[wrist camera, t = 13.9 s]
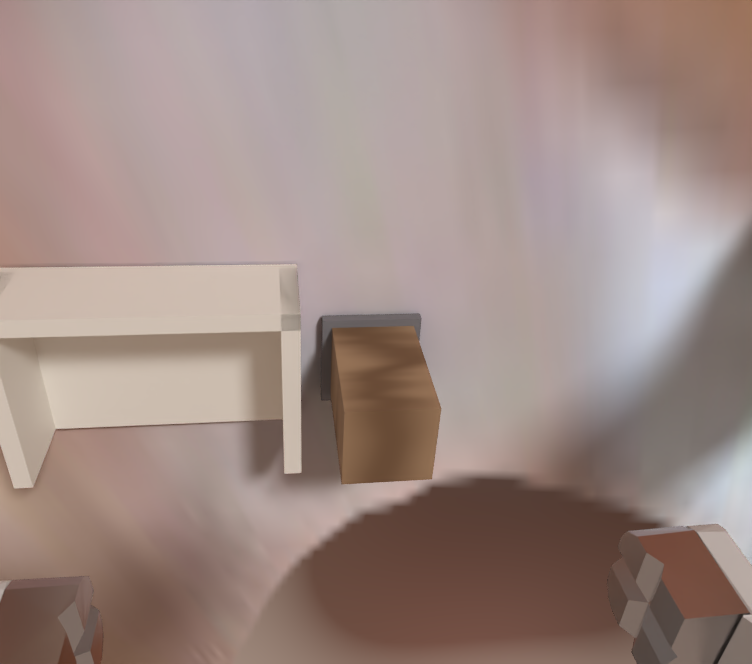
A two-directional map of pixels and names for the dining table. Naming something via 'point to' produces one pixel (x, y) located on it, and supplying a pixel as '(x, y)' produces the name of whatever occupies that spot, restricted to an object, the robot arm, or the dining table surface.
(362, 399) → the block
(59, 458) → the dining table surface
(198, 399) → the box
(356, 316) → the coaster
